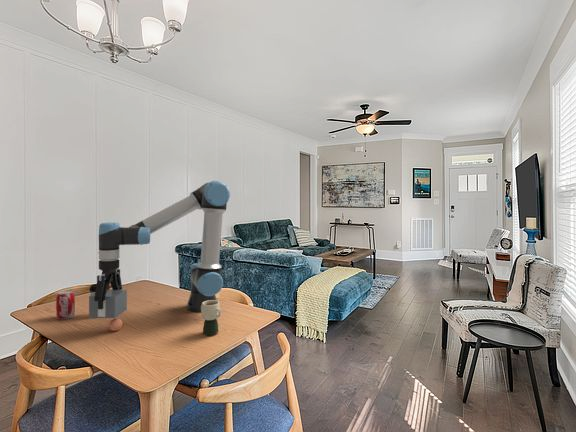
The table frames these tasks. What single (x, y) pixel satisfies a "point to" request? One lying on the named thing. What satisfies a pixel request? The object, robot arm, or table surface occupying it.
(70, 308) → the soda can
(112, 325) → the ball
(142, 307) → the table surface
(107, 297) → the grey cubic block
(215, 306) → the character mug
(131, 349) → the table surface
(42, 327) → the table surface
